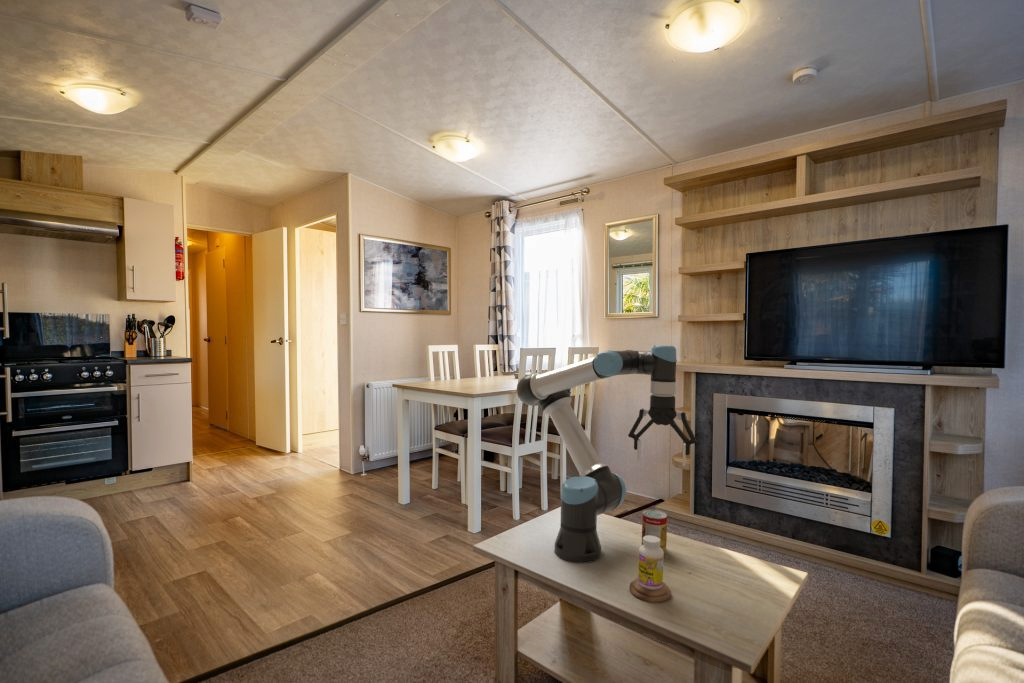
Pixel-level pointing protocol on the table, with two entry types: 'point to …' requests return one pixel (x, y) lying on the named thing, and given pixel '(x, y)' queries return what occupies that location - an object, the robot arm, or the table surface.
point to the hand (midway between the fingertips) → (661, 462)
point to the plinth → (650, 592)
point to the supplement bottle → (650, 563)
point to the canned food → (655, 526)
